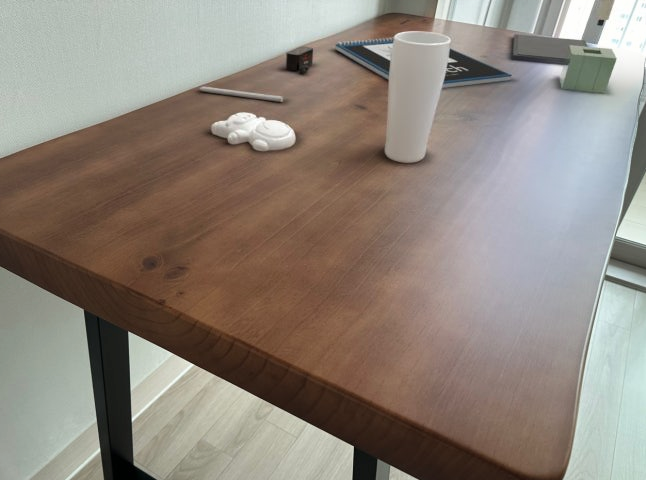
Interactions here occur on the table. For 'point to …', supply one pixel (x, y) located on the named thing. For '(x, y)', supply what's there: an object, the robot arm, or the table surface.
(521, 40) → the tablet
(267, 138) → the white animal figurine
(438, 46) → the drinking glass
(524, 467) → the table surface
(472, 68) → the sketchbook
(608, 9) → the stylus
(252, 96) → the pencil
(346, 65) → the table surface
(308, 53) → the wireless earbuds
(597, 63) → the pen block
